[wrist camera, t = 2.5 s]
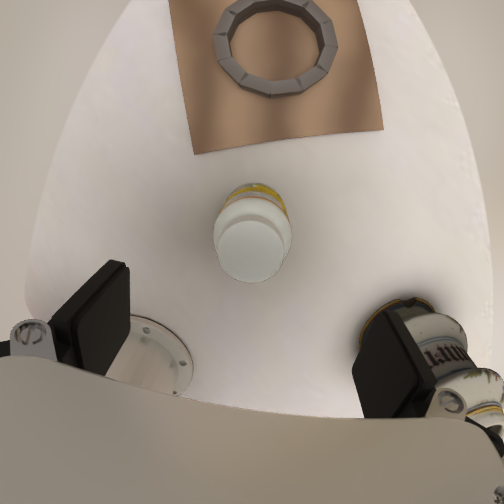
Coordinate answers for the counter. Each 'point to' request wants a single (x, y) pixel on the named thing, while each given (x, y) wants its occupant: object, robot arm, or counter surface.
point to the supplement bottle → (252, 233)
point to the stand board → (273, 70)
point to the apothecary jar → (451, 360)
